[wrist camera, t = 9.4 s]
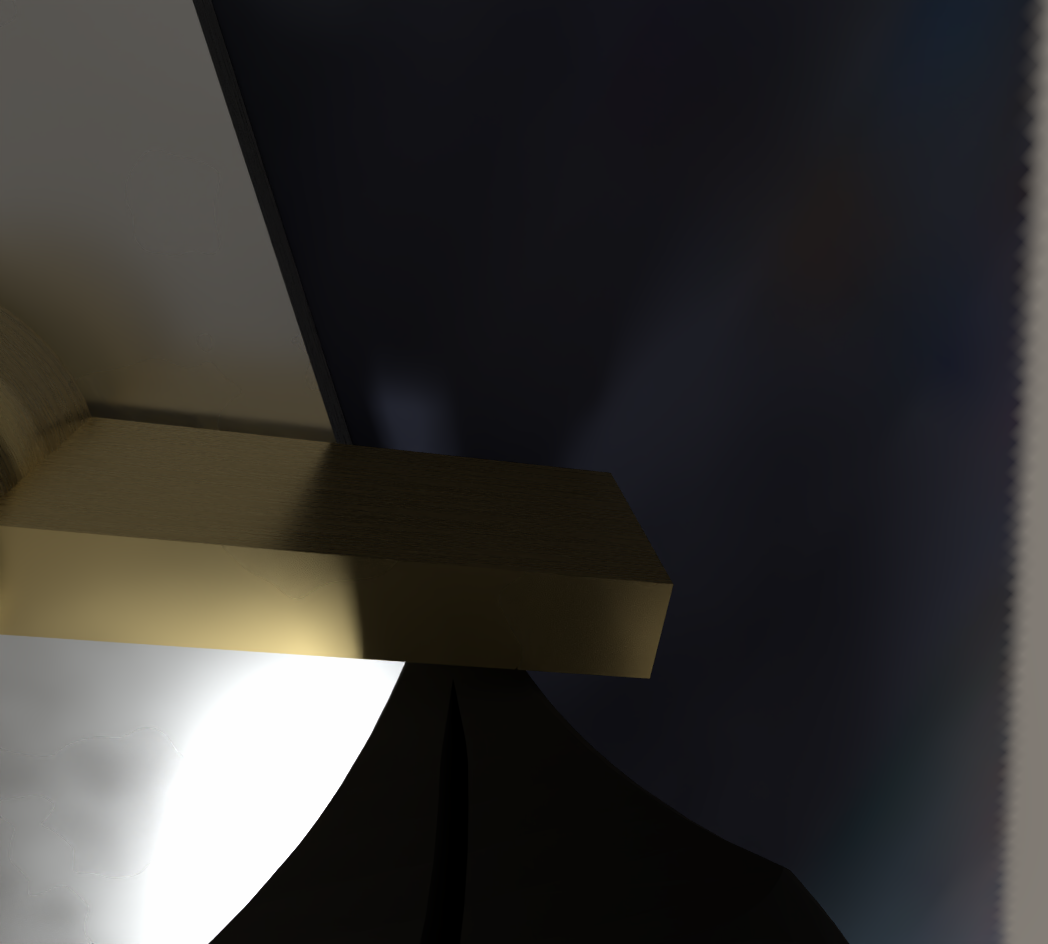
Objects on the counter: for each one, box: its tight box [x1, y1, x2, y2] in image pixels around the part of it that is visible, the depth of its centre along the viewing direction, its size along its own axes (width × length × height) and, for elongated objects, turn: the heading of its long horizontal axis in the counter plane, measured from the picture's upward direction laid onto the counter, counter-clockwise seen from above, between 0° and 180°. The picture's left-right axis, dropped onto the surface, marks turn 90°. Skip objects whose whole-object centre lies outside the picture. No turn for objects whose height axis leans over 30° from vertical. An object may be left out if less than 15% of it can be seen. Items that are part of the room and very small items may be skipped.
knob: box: [0, 305, 673, 678], centre depth 10 cm, size 11×4×4 cm, turn 81°
